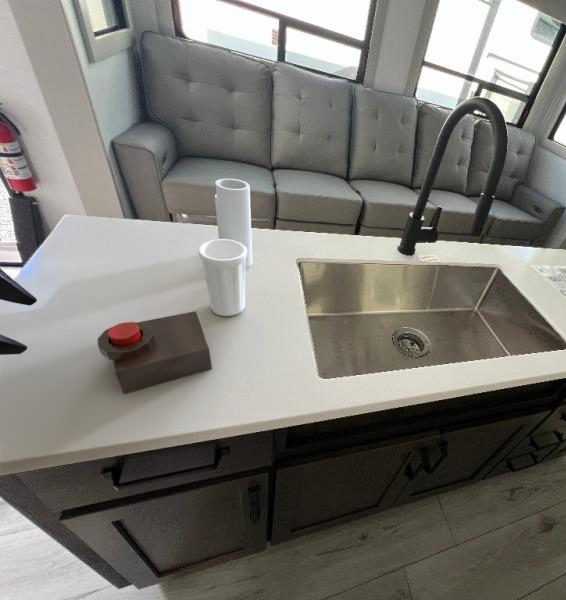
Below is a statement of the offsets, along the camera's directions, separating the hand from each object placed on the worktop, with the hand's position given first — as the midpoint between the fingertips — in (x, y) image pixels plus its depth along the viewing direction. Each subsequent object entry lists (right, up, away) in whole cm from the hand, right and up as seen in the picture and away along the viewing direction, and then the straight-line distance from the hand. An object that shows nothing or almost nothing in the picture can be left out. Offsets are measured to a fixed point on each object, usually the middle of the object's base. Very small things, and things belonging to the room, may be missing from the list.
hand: (29, 325), depth 41 cm
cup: (+10, +1, +29) cm, 30 cm away
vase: (+4, +14, +43) cm, 46 cm away
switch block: (+6, -7, +15) cm, 18 cm away
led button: (+4, -3, +9) cm, 11 cm away
